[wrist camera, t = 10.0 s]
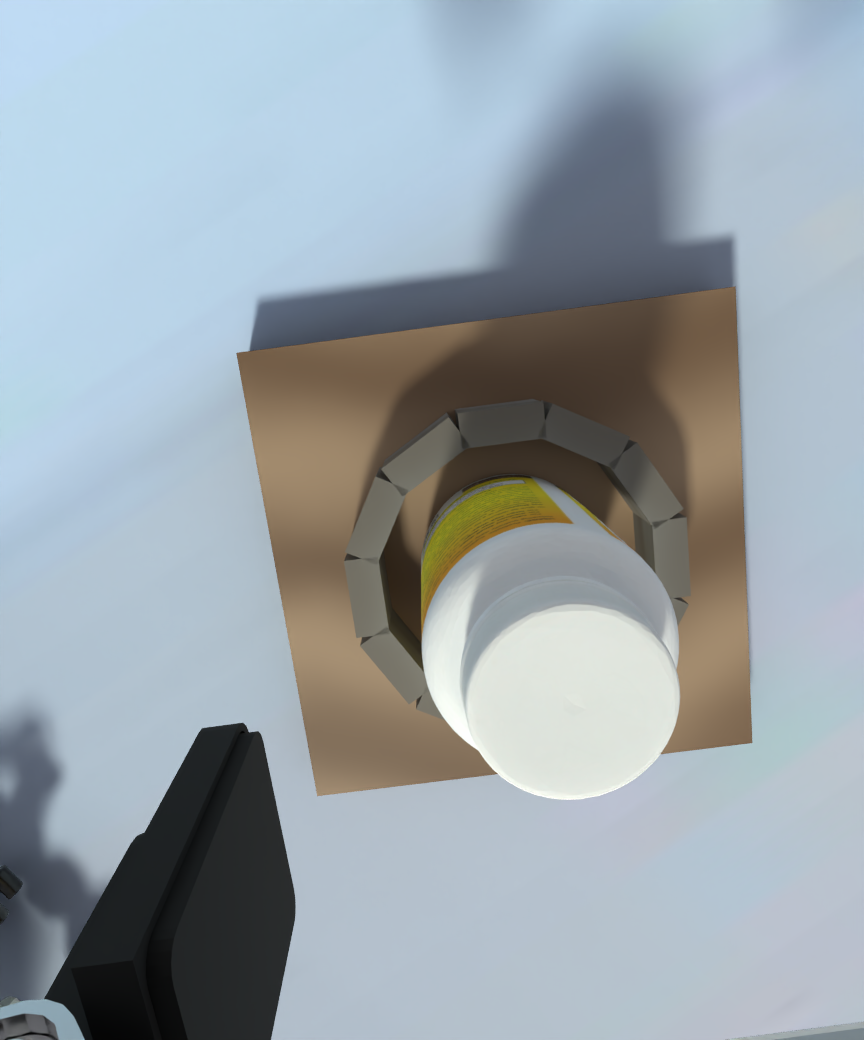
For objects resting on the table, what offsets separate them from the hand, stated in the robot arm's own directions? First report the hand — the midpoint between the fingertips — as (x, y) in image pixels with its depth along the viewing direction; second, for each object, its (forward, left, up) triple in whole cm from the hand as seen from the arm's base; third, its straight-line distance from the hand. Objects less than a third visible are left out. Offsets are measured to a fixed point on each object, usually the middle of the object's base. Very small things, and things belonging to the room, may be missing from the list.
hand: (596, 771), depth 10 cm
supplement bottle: (+1, 0, -13) cm, 13 cm away
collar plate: (+1, 0, -15) cm, 15 cm away
